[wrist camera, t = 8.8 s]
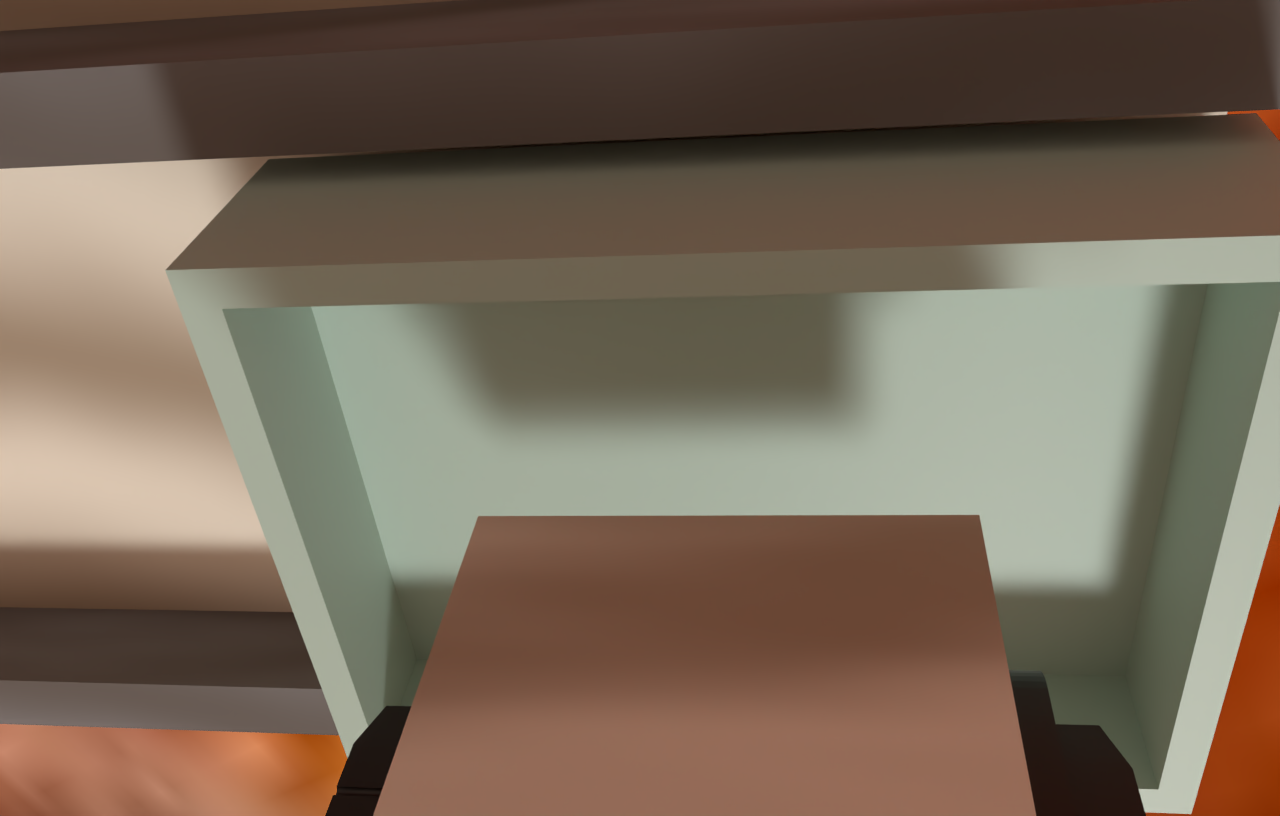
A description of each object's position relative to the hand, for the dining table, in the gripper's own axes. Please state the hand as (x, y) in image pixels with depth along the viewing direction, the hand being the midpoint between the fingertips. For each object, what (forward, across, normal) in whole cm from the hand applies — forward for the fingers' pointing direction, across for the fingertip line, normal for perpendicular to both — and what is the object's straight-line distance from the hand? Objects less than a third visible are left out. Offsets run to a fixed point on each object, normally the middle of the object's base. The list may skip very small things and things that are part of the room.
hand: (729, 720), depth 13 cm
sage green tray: (+6, 0, 0) cm, 6 cm away
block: (0, 0, 0) cm, 0 cm away
